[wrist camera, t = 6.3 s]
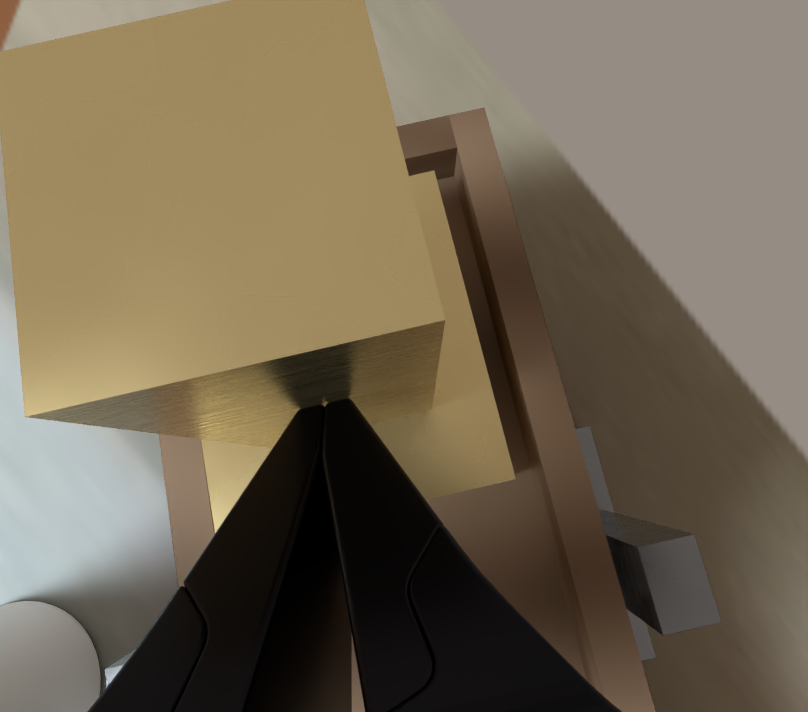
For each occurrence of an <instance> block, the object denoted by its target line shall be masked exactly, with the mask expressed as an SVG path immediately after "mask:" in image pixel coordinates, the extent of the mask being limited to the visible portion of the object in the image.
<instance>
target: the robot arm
mask: <svg viewBox="0 0 808 712" xmlns="http://www.w3.org/2000/svg"><path fill="white" fill-rule="evenodd" d="M183 584H184V586H185V587H184V586H180V587H179V588H178V589H177V591H176V592H175V594H174V595H173V596H172V598H171V599H170V601H169V602H168V604H167V605H166V607H165V608H164V610H163V611H162V613H161V614H160V616H159V617H158V618H157V620H156V621H155V623H154V624H153V626H152V627H151V628H150V630H149V631H148V633H147V634H146V635H145V637H144V638H143V640H142V641H141V643H140V644H139V645H138V647H137V648H136V650H135V651H134V652H133V653H132V655H131V656H130V657H129V659H128V660H127V661H126V663H125V664H124V665H123V667H122V668H121V669H120V670H119V672H118V673H117V674H116V676H115V677H114V678H113V680H112V681H111V682H110V683H109V685H108V686H107V687H106V689H105V690H104V691H103V693H102V694H101V695H100V696H99V698H98V699H97V700H96V701H95V703H94V704H93V705H92V706H91V708H90V709H89V710H88V711H87V712H352V638H353V644H354V650H355V656H356V661H357V667H358V673H359V679H360V685H361V691H362V697H363V702H364V708H365V712H622V711H621V710H620V709H618V708H617V707H616V706H615V705H613V704H612V703H611V702H610V701H609V700H608V699H606V698H605V697H604V696H603V695H602V694H601V693H600V692H599V691H597V690H596V689H595V688H594V687H593V686H592V685H591V684H590V683H589V682H588V681H587V680H586V679H585V678H584V677H583V676H582V675H581V674H580V673H579V672H578V671H577V670H576V669H575V668H574V667H573V666H572V665H571V664H570V663H569V662H568V661H567V660H566V659H565V658H564V657H563V656H562V655H561V654H560V653H559V652H558V651H557V650H556V649H555V648H554V647H553V646H552V645H551V644H550V643H549V642H548V641H547V640H546V639H545V638H544V637H543V636H542V635H541V634H540V633H539V632H538V631H537V630H536V629H535V628H534V627H533V626H532V625H531V624H530V623H529V622H528V621H527V620H526V619H525V618H524V617H523V616H522V615H521V614H520V613H519V612H518V611H517V610H516V609H515V608H514V607H513V606H512V605H511V604H510V603H509V602H508V601H507V600H506V598H505V597H504V596H503V595H502V594H501V593H500V592H499V591H498V590H497V589H496V588H495V587H494V586H493V584H492V583H491V582H490V581H489V580H488V579H487V578H486V577H485V576H484V575H483V574H482V573H481V571H480V570H479V569H478V568H477V566H476V565H475V564H474V563H473V561H472V560H471V559H470V558H469V556H468V555H467V554H466V553H465V551H464V550H463V549H462V548H461V546H460V545H459V544H458V542H457V541H456V540H455V538H454V537H453V536H452V534H451V533H450V532H449V530H448V529H447V528H446V527H445V526H444V525H443V523H442V521H441V520H440V519H439V517H438V516H437V515H436V513H435V512H434V510H433V509H432V508H431V506H430V505H429V504H428V502H427V501H426V500H425V498H424V497H423V496H422V494H421V493H420V492H419V490H418V489H417V487H416V486H415V485H414V483H413V482H412V481H411V479H410V478H409V477H408V475H407V474H406V473H405V471H404V470H403V468H402V467H401V466H400V464H399V463H398V462H397V460H396V459H395V458H394V456H393V455H392V454H391V452H390V451H389V450H388V448H387V447H386V445H385V444H384V443H383V441H382V440H381V439H380V437H379V436H378V435H377V433H376V432H375V431H374V429H373V428H372V426H371V425H370V424H369V422H368V421H367V420H366V418H365V417H364V416H363V414H362V413H361V412H360V410H359V409H358V407H357V406H356V405H355V403H354V402H353V401H352V400H351V399H349V398H348V399H342V400H338V401H334V402H329V403H327V404H326V406H324V405H316V406H311V407H307V408H302V409H300V410H298V411H297V413H296V414H295V415H294V417H293V418H292V420H291V421H290V423H289V424H288V426H287V427H286V429H285V430H284V432H283V433H282V435H281V436H280V438H279V439H278V441H277V442H276V444H275V445H274V447H273V448H272V450H271V451H270V453H269V454H268V456H267V457H266V459H265V460H264V462H263V463H262V465H261V466H260V467H259V469H258V470H257V472H256V473H255V475H254V476H253V478H252V479H251V481H250V482H249V484H248V485H247V487H246V488H245V490H244V491H243V493H242V494H241V496H240V497H239V499H238V500H237V502H236V503H235V505H234V506H233V508H232V509H231V511H230V512H229V514H228V515H227V517H226V518H225V520H224V521H223V523H222V524H221V525H220V527H219V528H218V530H217V531H216V533H215V534H214V536H213V537H212V539H211V540H210V542H209V543H208V545H207V546H206V548H205V549H204V551H203V552H202V554H201V555H200V557H199V558H198V560H197V561H196V563H195V564H194V566H193V567H192V569H191V570H190V572H189V573H188V575H187V576H186V578H185V579H184V581H183Z"/></svg>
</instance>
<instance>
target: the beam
mask: <svg viewBox="0 0 808 712" xmlns="http://www.w3.org/2000/svg"><path fill="white" fill-rule="evenodd" d="M397 131H398V135H399V139H400V143H401V147H402V151H403V155H404V159H405V163H406V167H407V171H408V175H409V176H412V175H416V174H421V173H425V172H429V171H435V175H436V179H437V183H438V186H439V190H440V194H441V198H442V202H443V205H444V209H445V213H446V217H447V220H448V224H449V228H450V232H451V236H452V239H453V243H454V247H455V251H456V255H457V258H458V262H459V266H460V270H461V273H462V277H463V281H464V285H465V289H466V292H467V296H468V300H469V304H470V307H471V311H472V315H473V319H474V323H475V326H476V330H477V334H478V338H479V342H480V345H481V349H482V353H483V357H484V360H485V364H486V368H487V372H488V376H489V379H490V383H491V387H492V391H493V394H494V398H495V402H496V406H497V410H498V413H499V417H500V421H501V425H502V429H503V432H504V436H505V440H506V444H507V447H508V451H509V455H510V459H511V463H512V466H513V470H514V474H515V478H516V479H514V480H510V481H506V482H501V483H497V484H493V485H489V486H484V487H480V488H476V489H472V490H467V491H463V492H459V493H454V494H450V495H446V496H442V497H437V498H433V499H429V500H426V501H427V502H428V504H429V505H430V506H431V508H432V509H433V510H434V512H435V513H436V515H437V516H438V517H439V519H440V520H441V521H442V523H443V525H444V526H445V527H446V528H447V529H448V530H449V532H450V533H451V534H452V536H453V537H454V538H455V540H456V541H457V542H458V544H459V545H460V546H461V548H462V549H463V550H464V551H465V553H466V554H467V555H468V556H469V558H470V559H471V560H472V561H473V563H474V564H475V565H476V566H477V568H478V569H479V570H480V571H481V573H482V574H483V575H484V576H485V577H486V578H487V579H488V580H489V581H490V582H491V583H492V584H493V586H494V587H495V588H496V589H497V590H498V591H499V592H500V593H501V594H502V595H503V596H504V597H505V598H506V600H507V601H508V602H509V603H510V604H511V605H512V606H513V607H514V608H515V609H516V610H517V611H518V612H519V613H520V614H521V615H522V616H523V617H524V618H525V619H526V620H527V621H528V622H529V623H530V624H531V625H532V626H533V627H534V628H535V629H536V630H537V631H538V632H539V633H540V634H541V635H542V636H543V637H544V638H545V639H546V640H547V641H548V642H549V643H550V644H551V645H552V646H553V647H554V648H555V649H556V650H557V651H558V652H559V653H560V654H561V655H562V656H563V657H564V658H565V659H566V660H567V661H568V662H569V663H570V664H571V665H572V666H573V667H574V668H575V669H576V670H577V671H578V672H579V673H580V674H581V675H582V676H583V677H584V678H585V679H586V680H587V681H588V682H589V683H590V684H591V685H592V686H593V687H594V688H595V689H596V690H597V691H599V692H600V693H601V694H602V695H603V696H604V697H605V698H606V699H608V700H609V701H610V702H611V703H612V704H613V705H615V706H616V707H617V708H618V709H620V710H621V711H622V712H656V711H655V707H654V704H653V700H652V697H651V693H650V690H649V686H648V683H647V679H646V676H645V672H644V669H643V665H642V662H641V658H640V655H639V651H638V648H637V644H636V640H635V637H634V633H633V630H632V626H631V623H630V619H629V616H628V612H627V609H626V605H625V602H624V598H623V595H622V591H621V588H620V584H619V581H618V577H617V574H616V570H615V566H614V563H613V559H612V556H611V552H610V549H609V545H608V542H607V538H606V535H605V531H604V528H603V524H602V521H601V517H600V514H599V510H598V507H597V503H596V500H595V496H594V492H593V489H592V485H591V482H590V478H589V475H588V471H587V468H586V464H585V461H584V457H583V454H582V450H581V447H580V443H579V440H578V436H577V433H576V429H575V426H574V422H573V418H572V415H571V411H570V408H569V404H568V401H567V397H566V394H565V390H564V387H563V383H562V380H561V376H560V373H559V369H558V366H557V362H556V359H555V355H554V352H553V348H552V344H551V341H550V337H549V334H548V330H547V327H546V323H545V320H544V316H543V313H542V309H541V306H540V302H539V299H538V295H537V292H536V288H535V285H534V281H533V278H532V274H531V271H530V267H529V263H528V260H527V256H526V253H525V249H524V246H523V242H522V239H521V235H520V232H519V228H518V225H517V221H516V218H515V214H514V211H513V207H512V204H511V200H510V197H509V193H508V189H507V186H506V182H505V179H504V175H503V172H502V168H501V165H500V161H499V158H498V154H497V151H496V147H495V144H494V140H493V137H492V133H491V130H490V126H489V123H488V119H487V115H486V112H485V108H480V109H476V110H471V111H466V112H462V113H457V114H453V115H448V116H444V117H439V118H434V119H430V120H425V121H421V122H416V123H412V124H407V125H403V126H398V127H397ZM159 439H160V447H161V454H162V462H163V470H164V478H165V486H166V494H167V501H168V509H169V517H170V525H171V533H172V541H173V548H174V556H175V564H176V572H177V580H178V588H179V587H180V586H184V584H183V581H184V579H185V578H186V576H187V575H188V573H189V572H190V570H191V569H192V567H193V566H194V564H195V563H196V561H197V560H198V558H199V557H200V555H201V554H202V552H203V551H204V549H205V548H206V546H207V545H208V543H209V542H210V540H211V539H212V537H213V536H214V534H215V529H214V523H213V516H212V510H211V503H210V496H209V490H208V483H207V476H206V470H205V463H204V456H203V450H202V443H201V439H195V438H188V437H180V436H172V435H164V434H159ZM184 587H185V586H184ZM352 712H365V708H364V702H363V697H362V691H361V685H360V679H359V673H358V667H357V661H356V656H355V650H354V644H353V638H352Z"/></svg>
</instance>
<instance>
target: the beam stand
mask: <svg viewBox="0 0 808 712" xmlns="http://www.w3.org/2000/svg"><path fill="white" fill-rule="evenodd" d="M576 433H577V436H578V440H579V443H580V447H581V450H582V454H583V457H584V461H585V464H586V468H587V471H588V475H589V478H590V482H591V485H592V489H593V492H594V496H595V500H596V503H597V507H598V510H599V514H600V517H601V521H602V524H603V528H604V531H605V535H606V538H607V542H608V545H609V549H610V552H611V556H612V559H613V563H614V566H615V570H616V574H617V577H618V581H619V584H620V588H621V591H622V595H623V598H624V602H625V605H626V609H627V612H628V616H629V619H630V623H631V626H632V630H633V633H634V637H635V640H636V644H637V648H638V651H639V655H640V658H641V661H643V660H648V659H652V658H656V656H655V652H654V649H653V645H652V642H651V638H650V635H649V631H648V628H647V624H648V625H649V626H651V627H652V628H654V629H655V630H656V631H658V632H659V633H660V634H662V635H663V636H664V635H668V634H672V633H677V632H681V631H685V630H690V629H694V628H698V627H703V626H707V625H711V624H716V623H720V622H721V618H720V615H719V612H718V609H717V605H716V602H715V599H714V596H713V593H712V589H711V586H710V583H709V580H708V576H707V573H706V570H705V567H704V564H703V560H702V557H701V554H700V551H699V547H698V544H697V541H696V538H695V535H694V534H691V533H687V532H683V531H680V530H676V529H672V528H668V527H665V526H661V525H657V524H654V523H650V522H646V521H643V520H639V519H635V518H632V517H628V516H624V515H620V514H617V513H615V512H614V509H613V505H612V502H611V498H610V495H609V491H608V488H607V484H606V481H605V477H604V474H603V470H602V467H601V463H600V460H599V456H598V453H597V449H596V446H595V442H594V439H593V435H592V432H591V428H590V426H587V427H582V428H577V429H576ZM646 623H647V624H646ZM135 650H136V649H135ZM135 650H133V651H132V652H130V653H129V654H127V655H126V656H124V657H123V658H121V659H120V660H118V661H116V662H115V663H113V664H112V665H110V666H109V667H107V668H106V669H105V675H106V684H107V686H108V685H109V683H110V682H111V681H112V680H113V678H114V677H115V676H116V674H117V673H118V672H119V670H120V669H121V668H122V667H123V665H124V664H125V663H126V661H127V660H128V659H129V657H130V656H131V655H132V653H133V652H134V651H135Z"/></svg>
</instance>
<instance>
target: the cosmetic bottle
mask: <svg viewBox="0 0 808 712" xmlns="http://www.w3.org/2000/svg"><path fill="white" fill-rule="evenodd" d="M100 683H101V676H100V666H99V661H98V656H97V653H96V650H95V647H94V645H93V643H92V641H91V639H90V637H89V635H88V634H87V632H86V631H85V629H84V628H83V627H82V626H81V625H80V623H79V622H78V621H77V620H75V619H74V618H73V617H72V616H71V615H69V614H68V613H67V612H65V611H64V610H62V609H60V608H58V607H56V606H53V605H50V604H47V603H42V602H36V601H21V602H13V603H9V604H5V605H2V606H0V712H87V711H88V710H89V709H90V708H91V706H92V705H93V704H94V703H95V701H96V700H97V699H98V698H99V695H100Z"/></svg>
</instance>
